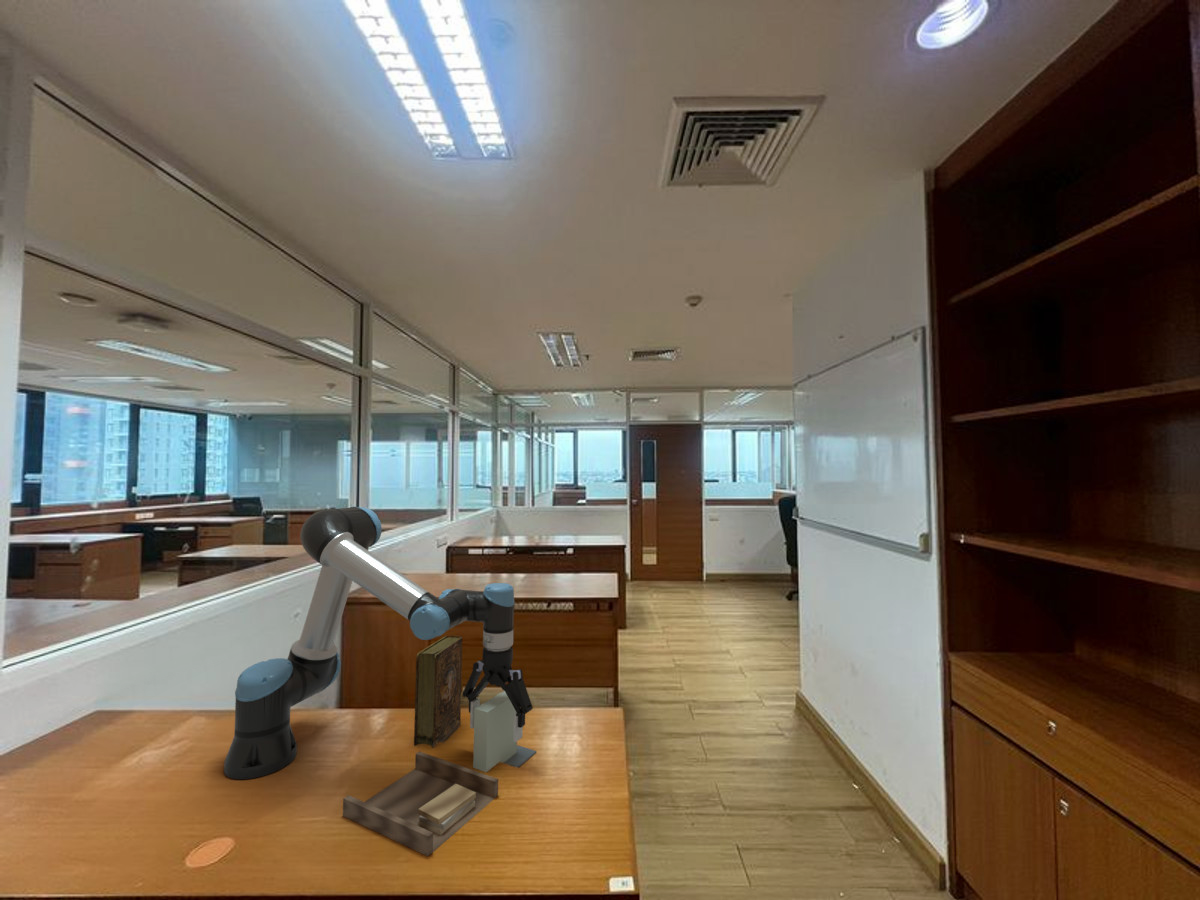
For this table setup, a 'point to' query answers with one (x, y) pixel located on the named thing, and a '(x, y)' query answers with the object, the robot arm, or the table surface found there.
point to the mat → (520, 756)
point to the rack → (419, 802)
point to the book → (438, 691)
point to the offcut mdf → (445, 822)
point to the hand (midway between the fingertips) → (495, 732)
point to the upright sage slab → (493, 732)
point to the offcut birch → (440, 831)
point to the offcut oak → (446, 803)
